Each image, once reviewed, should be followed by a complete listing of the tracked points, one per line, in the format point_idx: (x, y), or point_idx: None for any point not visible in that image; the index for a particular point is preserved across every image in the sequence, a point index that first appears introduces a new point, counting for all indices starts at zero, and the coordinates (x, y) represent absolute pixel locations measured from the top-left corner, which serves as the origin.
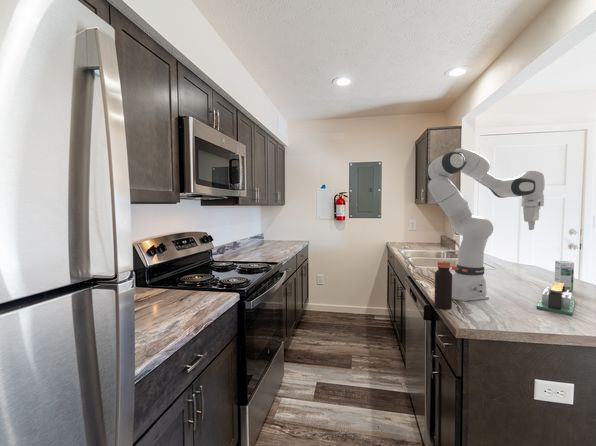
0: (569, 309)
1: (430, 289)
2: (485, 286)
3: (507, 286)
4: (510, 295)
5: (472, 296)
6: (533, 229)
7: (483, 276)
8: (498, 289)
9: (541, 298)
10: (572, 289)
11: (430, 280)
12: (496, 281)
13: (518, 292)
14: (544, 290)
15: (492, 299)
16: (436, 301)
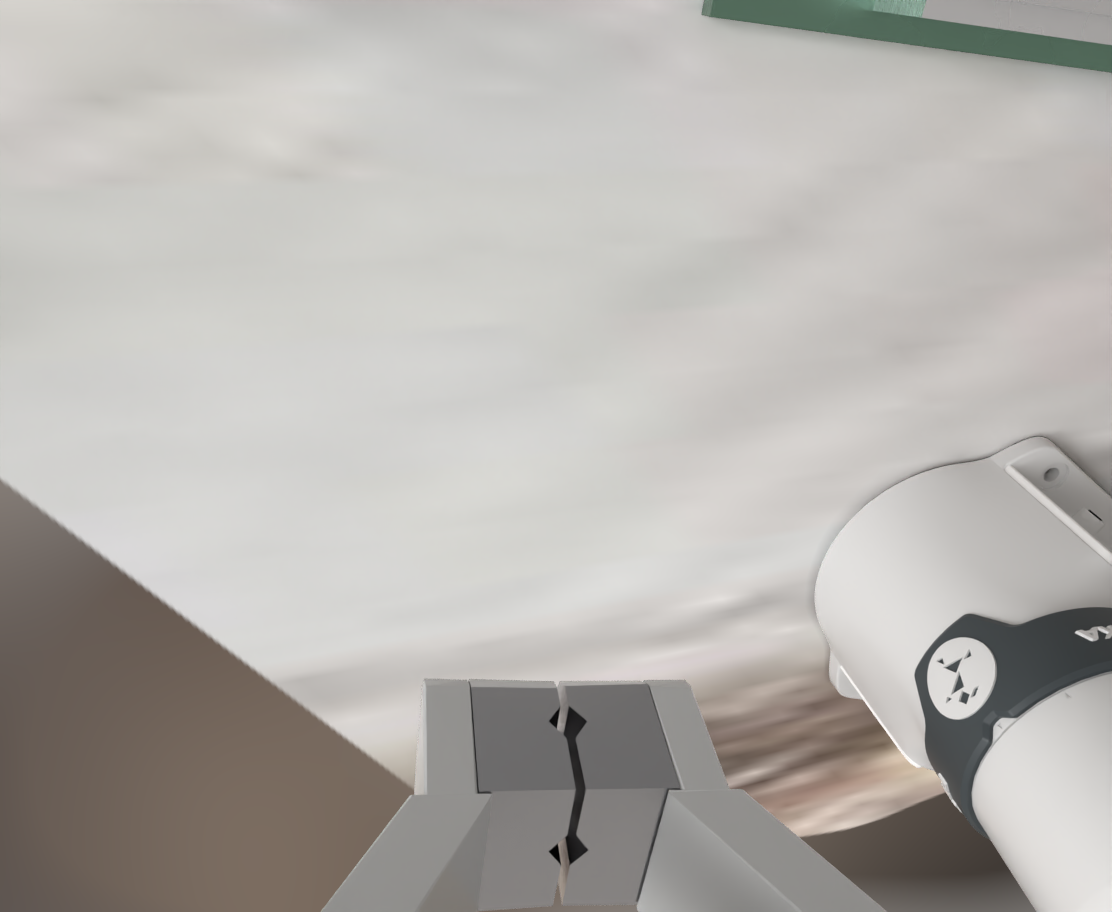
0: None
1: None
2: (1069, 516)
3: (474, 362)
4: (842, 305)
5: (1098, 535)
6: (515, 680)
7: (1091, 592)
8: (665, 416)
9: (939, 42)
10: None
11: None
12: (306, 476)
13: (680, 251)
14: (1008, 26)
15: (1043, 410)
16: None
